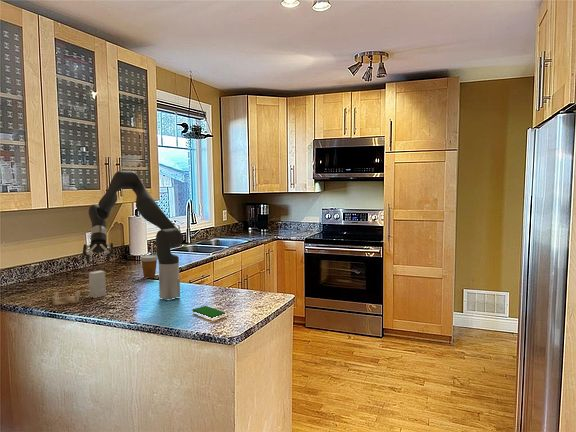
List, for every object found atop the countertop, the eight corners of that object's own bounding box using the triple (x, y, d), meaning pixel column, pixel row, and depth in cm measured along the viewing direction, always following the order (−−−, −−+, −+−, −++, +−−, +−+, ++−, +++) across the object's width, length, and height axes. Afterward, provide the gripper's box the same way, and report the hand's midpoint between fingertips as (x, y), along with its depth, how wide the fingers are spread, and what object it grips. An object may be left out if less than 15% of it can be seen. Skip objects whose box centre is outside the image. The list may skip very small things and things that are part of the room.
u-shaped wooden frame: (80, 296, 198) (79, 290, 197) (77, 302, 188) (77, 296, 187) (56, 298, 194) (56, 292, 194) (52, 305, 184) (52, 298, 184)
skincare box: (100, 294, 202) (99, 270, 200) (106, 295, 199) (105, 271, 198) (89, 297, 196) (88, 272, 195) (94, 298, 194) (93, 273, 193)
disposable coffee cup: (160, 275, 241) (160, 254, 240) (153, 279, 231) (153, 258, 230) (145, 274, 242) (144, 254, 241) (137, 278, 232) (137, 257, 231)
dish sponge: (205, 310, 179) (205, 305, 179) (226, 318, 170) (226, 312, 170) (192, 314, 174) (191, 309, 173) (212, 322, 164) (212, 316, 164)
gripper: (83, 232, 210) (81, 258, 201) (113, 231, 215) (113, 256, 206) (84, 241, 216) (83, 266, 206) (113, 239, 221) (113, 264, 211)
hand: (98, 261), depth 206 cm, fingers open, 8 cm apart
